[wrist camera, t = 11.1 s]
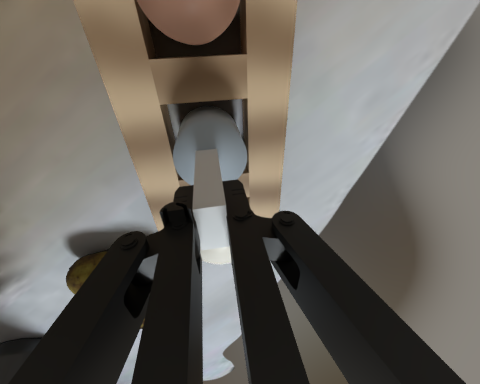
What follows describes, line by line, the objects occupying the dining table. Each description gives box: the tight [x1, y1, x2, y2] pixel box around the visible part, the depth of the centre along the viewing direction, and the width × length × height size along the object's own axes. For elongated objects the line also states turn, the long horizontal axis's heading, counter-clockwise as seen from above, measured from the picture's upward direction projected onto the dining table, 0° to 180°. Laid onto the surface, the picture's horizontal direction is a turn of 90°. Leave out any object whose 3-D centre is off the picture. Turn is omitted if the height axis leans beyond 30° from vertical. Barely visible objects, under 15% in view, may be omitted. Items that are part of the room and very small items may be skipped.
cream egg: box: [200, 246, 231, 265], centre depth 24 cm, size 6×6×5 cm
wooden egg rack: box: [73, 0, 297, 231], centre depth 20 cm, size 30×14×3 cm, turn 2°
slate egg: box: [173, 106, 247, 185], centre depth 18 cm, size 6×6×5 cm
